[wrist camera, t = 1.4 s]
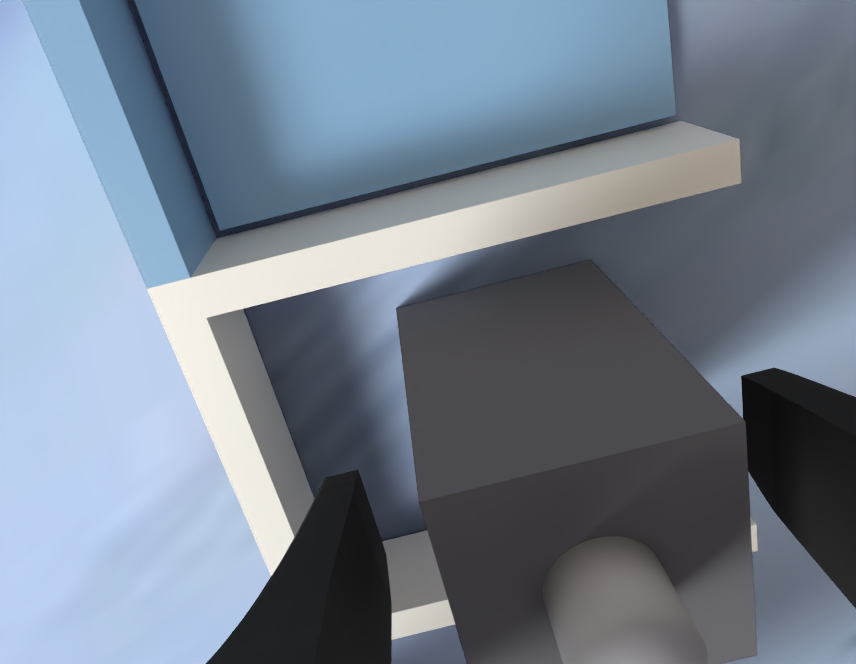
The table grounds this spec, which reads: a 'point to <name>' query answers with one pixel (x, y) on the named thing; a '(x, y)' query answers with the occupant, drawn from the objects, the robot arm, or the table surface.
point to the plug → (577, 478)
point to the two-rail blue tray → (355, 174)
